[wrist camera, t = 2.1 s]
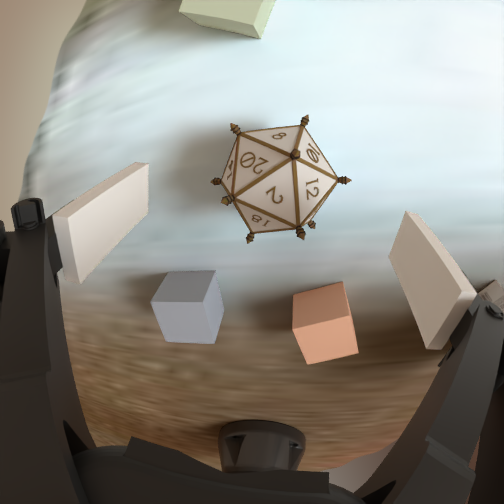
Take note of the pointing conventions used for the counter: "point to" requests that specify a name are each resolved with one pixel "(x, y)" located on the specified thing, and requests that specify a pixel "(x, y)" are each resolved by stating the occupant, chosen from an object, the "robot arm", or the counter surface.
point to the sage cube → (230, 14)
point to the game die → (277, 178)
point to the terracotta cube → (324, 323)
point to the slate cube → (189, 307)
